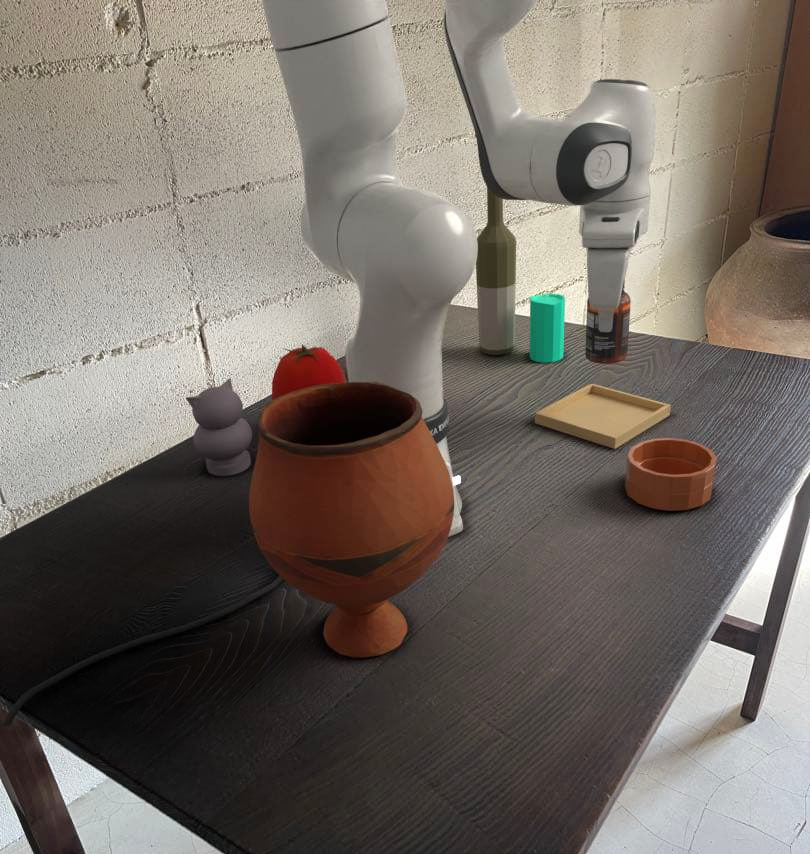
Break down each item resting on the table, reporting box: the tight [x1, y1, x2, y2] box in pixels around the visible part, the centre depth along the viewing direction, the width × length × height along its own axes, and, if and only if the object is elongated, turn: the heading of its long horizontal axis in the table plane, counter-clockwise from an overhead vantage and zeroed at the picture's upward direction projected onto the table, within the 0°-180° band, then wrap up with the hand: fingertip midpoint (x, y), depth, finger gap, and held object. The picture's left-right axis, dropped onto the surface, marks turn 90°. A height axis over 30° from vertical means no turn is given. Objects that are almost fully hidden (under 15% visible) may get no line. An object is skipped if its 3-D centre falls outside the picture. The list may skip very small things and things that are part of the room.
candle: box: [529, 288, 566, 363], centre depth 144 cm, size 6×6×12 cm
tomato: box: [271, 343, 346, 401], centre depth 125 cm, size 12×12×13 cm
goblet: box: [248, 381, 454, 659], centre depth 79 cm, size 19×19×25 cm
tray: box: [534, 383, 672, 450], centre depth 123 cm, size 14×14×2 cm
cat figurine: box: [185, 378, 253, 477], centre depth 117 cm, size 9×8×12 cm
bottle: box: [475, 184, 517, 356], centre depth 143 cm, size 7×7×30 cm
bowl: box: [624, 437, 718, 512], centre depth 103 cm, size 10×10×5 cm
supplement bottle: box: [584, 278, 632, 365], centre depth 116 cm, size 6×6×11 cm
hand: (607, 321), depth 116 cm, fingers closed on supplement bottle, 6 cm apart
